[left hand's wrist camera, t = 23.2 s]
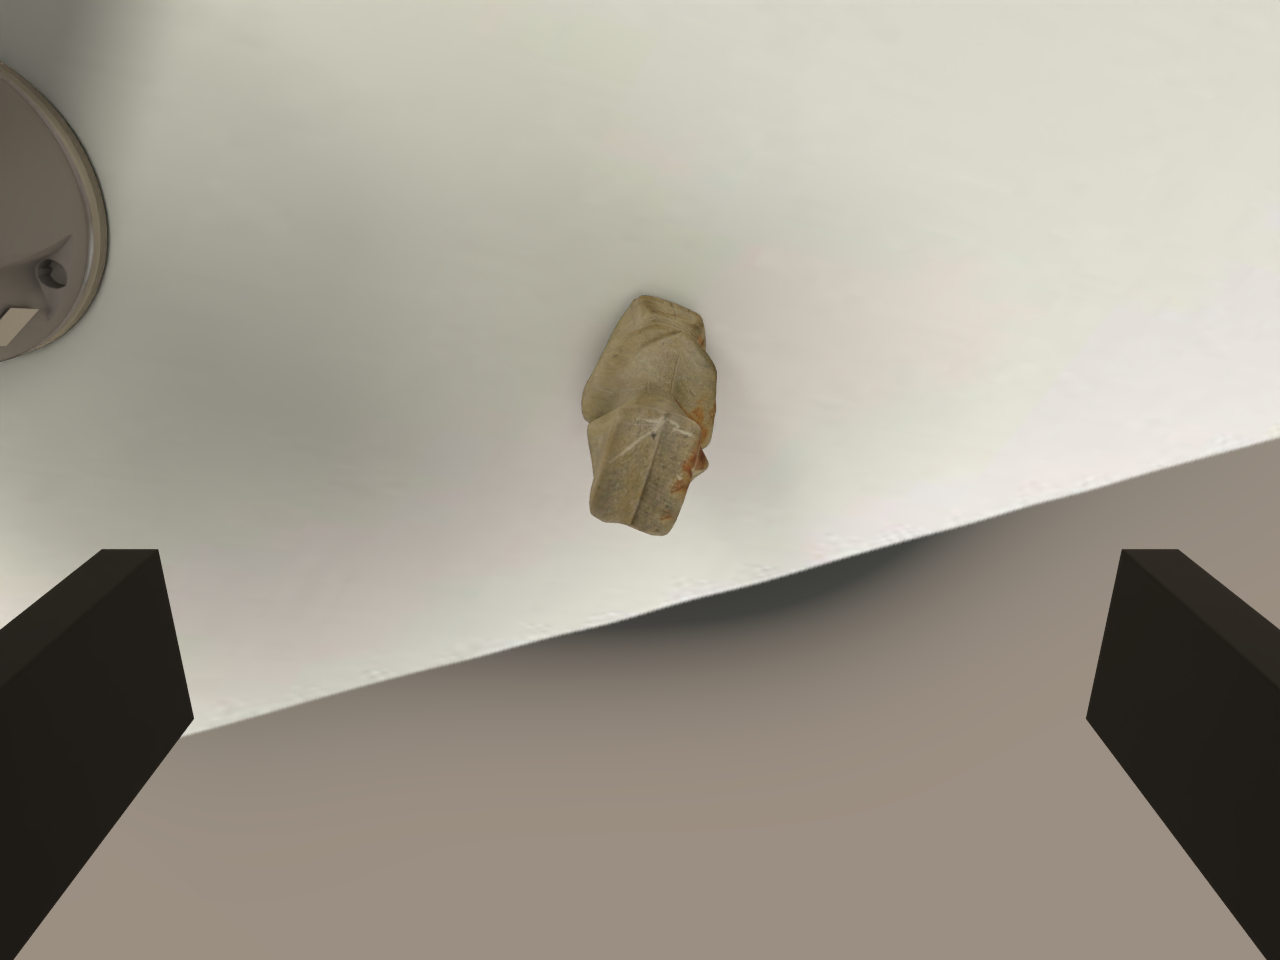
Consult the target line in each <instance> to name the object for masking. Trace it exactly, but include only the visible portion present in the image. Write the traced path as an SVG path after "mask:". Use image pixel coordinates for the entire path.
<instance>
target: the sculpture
mask: <svg viewBox="0 0 1280 960" xmlns="http://www.w3.org/2000/svg"><path fill="white" fill-rule="evenodd" d="M716 382H717V371H716V368H715V365H714V363H713V362H712V360H711V359H710V357H709V355H708V354H707V353H706V339H705V329H704V324H703V320H702V318H701V316H700V315H699V314H697V313H695V312H693V311H691V310H689V309H687V308H684V307H682V306H679V305H677V304H674V303H672V302H669V301H666V300H663V299H659V298H656V297H652V296H645V295H644V296H641V297H639V298H638V299H635V300H634V301H633V302H632V303H631V305H630V307H629V309H628V310H627V311H626V312H625V314H624V315H623V316H622V318H621V319H620V321H619V322H618V324H617V326H616V328H615V329H614V331H613V333H612V335H611V337H610V339H609V341H608V344H607V346H606V348H605V350H604V352H603V353H602V355H601V357H600V359H599V361H598V363H597V365H596V367H595V369H594V371H593V373H592V375H591V376H590V378H589V379H588V381H587V383H586V385H585V387H584V391H583V395H582V414H583V417H584V419H585V420H586V421H587V422H589V423H590V424H589V425H588V429H587V436H588V443H589V448H590V454H591V460H592V467H593V475H594V480H593V483H592V487H591V492H590V501H589V504H590V512H591V514H592V515H593V516H594V517H596V518H598V519H599V520H601V521H603V522H608V523H621V524H625V525H628V526H630V527H632V528H635V529H637V530H639V531H642V532H645V533H647V534H650V535H656V536H663V535H666V534H668V533H669V532H670V530H671V529H672V527H673V525H674V523H675V522H676V520H677V517H678V515H679V512H680V509H681V507H682V504H683V502H684V499H685V496H686V493H687V489H688V486H689V484H690V482H691V481H692V480H693V479H694V478H695V477H696V476H698V475H700V474H701V473H703V472H704V471H705V470H706V469H707V468H708V460H707V458H706V456H705V454H704V452H703V450H702V449H704V448H705V447H707V446H708V444H709V443H710V441H711V437H712V431H713V424H714V417H715V413H716Z"/></svg>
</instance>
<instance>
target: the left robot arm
mask: <svg viewBox="0 0 1280 960" xmlns="http://www.w3.org/2000/svg"><path fill="white" fill-rule="evenodd" d="M106 251H107V225H106V215H105V210H104V204H103V199H102V196H101V192H100V189H99V185H98V182H97V180H96V177H95V174H94V171H93V169H92V167H91V164H90V162H89V160H88V158H87V156H86V154H85V152H84V150H83V148H82V147H81V145H80V143H79V141H78V140H77V138H76V136H75V135H74V133H73V132H72V130H71V129H70V127H69V126H68V125H67V123H66V122H65V120H64V119H63V118H62V117H61V115H60V114H59V113H58V112H57V110H56V109H55V108H54V107H53V106H52V105H51V104H50V103H49V101H48V100H47V99H46V98H45V97H44V96H43V95H42V94H41V93H40V92H39V91H38V90H37V89H35V88H34V87H33V86H32V85H31V84H30V83H29V82H28V81H27V80H25V79H24V78H23V77H21V76H20V75H19V74H17V73H16V72H15V71H14V70H12V69H11V68H9V67H8V66H6V65H5V64H3V63H2V62H0V362H1V361H5V360H8V359H12V358H15V357H17V356H20V355H23V354H25V353H28V352H31V351H33V350H36V349H38V348H41V347H43V346H45V345H47V344H49V343H50V342H52V341H54V340H56V339H57V338H59V337H60V336H61V335H63V334H64V333H65V332H67V331H68V330H69V329H70V328H71V327H72V326H73V325H74V324H75V323H76V322H77V321H78V320H79V319H80V317H81V316H82V315H83V314H84V313H85V311H86V309H87V308H88V306H89V305H90V303H91V302H92V300H93V298H94V296H95V293H96V291H97V289H98V286H99V284H100V281H101V278H102V274H103V270H104V266H105V260H106ZM193 719H194V716H193V711H192V707H191V702H190V697H189V693H188V688H187V683H186V678H185V674H184V669H183V664H182V660H181V655H180V650H179V645H178V641H177V636H176V631H175V627H174V622H173V617H172V612H171V608H170V603H169V598H168V594H167V589H166V584H165V579H164V575H163V570H162V565H161V561H160V556H159V551H158V549H102V550H100V551H99V552H98V553H97V554H95V555H94V556H93V557H92V558H90V559H89V560H88V561H86V562H85V563H84V564H83V565H81V566H80V567H79V568H78V569H76V570H75V571H74V572H73V573H71V574H70V575H69V576H68V577H66V578H65V579H64V580H62V581H61V582H60V583H59V584H57V585H56V586H55V587H54V588H52V589H51V590H50V591H49V592H47V593H46V594H45V595H44V596H42V597H41V598H40V599H38V600H37V601H36V602H35V603H33V604H32V605H31V606H30V607H28V608H27V609H26V610H25V611H23V612H22V613H21V614H19V615H18V616H17V617H16V618H14V619H13V620H12V621H11V622H9V623H8V624H7V625H6V626H4V627H3V628H2V629H1V630H0V960H14V958H15V957H16V956H17V954H18V953H19V952H20V950H21V949H22V947H23V946H24V945H25V944H26V942H27V941H28V940H29V938H30V937H31V936H32V934H33V933H34V932H35V930H36V929H37V928H38V926H39V925H40V924H41V922H42V921H43V920H44V918H45V917H46V916H47V914H48V913H49V911H50V910H51V909H52V908H53V906H54V905H55V903H56V902H57V901H58V900H59V898H60V897H61V895H62V894H63V893H64V892H65V890H66V889H67V888H68V886H69V885H70V884H71V882H72V881H73V880H74V878H75V877H76V875H77V874H78V873H79V871H80V870H81V869H82V868H83V866H84V865H85V864H86V862H87V861H88V859H89V858H90V857H91V856H92V854H93V853H94V851H95V850H96V849H97V848H98V846H99V845H100V843H101V842H102V841H103V840H104V838H105V837H106V836H107V834H108V833H109V832H110V830H111V829H112V828H113V826H114V825H115V823H116V822H117V821H118V819H119V818H120V817H121V815H122V814H123V813H124V811H125V810H126V809H127V807H128V806H129V805H130V803H131V802H132V801H133V799H134V798H135V797H136V795H137V794H138V793H139V791H140V790H141V789H142V787H143V786H144V785H145V783H146V782H147V781H148V779H149V778H150V777H151V775H152V774H153V773H154V771H155V770H156V769H157V767H158V766H159V765H160V763H161V762H162V761H163V759H164V758H165V757H166V755H167V754H168V753H169V751H170V750H171V749H172V747H173V746H174V745H175V743H176V742H177V741H178V739H179V738H180V737H181V735H182V734H183V733H184V731H185V730H186V729H187V727H188V726H189V725H190V723H191V722H192V721H193ZM1086 719H1087V721H1088V722H1089V723H1090V725H1091V726H1092V727H1093V729H1094V730H1095V731H1096V733H1097V734H1098V735H1099V737H1100V738H1101V739H1102V741H1103V742H1104V743H1105V745H1106V746H1107V747H1108V749H1109V750H1110V751H1111V753H1112V754H1113V755H1114V757H1115V758H1116V759H1117V761H1118V762H1119V763H1120V765H1121V766H1122V767H1123V769H1124V770H1125V771H1126V773H1127V774H1128V775H1129V777H1130V778H1131V779H1132V781H1133V782H1134V783H1135V785H1136V786H1137V787H1138V789H1139V790H1140V791H1141V793H1142V794H1143V795H1144V797H1145V798H1146V799H1147V801H1148V802H1149V803H1150V805H1151V806H1152V807H1153V809H1154V810H1155V811H1156V813H1157V814H1158V815H1159V817H1160V818H1161V819H1162V821H1163V822H1164V823H1165V825H1166V826H1167V827H1168V829H1169V830H1170V832H1171V833H1172V834H1173V836H1174V837H1175V838H1176V839H1177V841H1178V842H1179V843H1180V845H1181V846H1182V848H1183V849H1184V850H1185V851H1186V853H1187V854H1188V855H1189V857H1190V858H1191V860H1192V861H1193V862H1194V864H1195V865H1196V866H1197V867H1198V869H1199V870H1200V872H1201V873H1202V874H1203V876H1204V877H1205V878H1206V880H1207V881H1208V882H1209V884H1210V885H1211V886H1212V888H1213V889H1214V890H1215V892H1216V893H1217V894H1218V896H1219V897H1220V898H1221V900H1222V901H1223V902H1224V904H1225V905H1226V906H1227V908H1228V909H1229V910H1230V912H1231V913H1232V914H1233V916H1234V917H1235V918H1236V920H1237V921H1238V922H1239V923H1240V925H1241V926H1242V928H1243V929H1244V930H1245V932H1246V933H1247V934H1248V936H1249V937H1250V938H1251V940H1252V941H1253V942H1254V944H1255V945H1256V946H1257V948H1258V949H1259V950H1260V952H1261V953H1262V954H1263V955H1264V957H1265V958H1266V959H1267V960H1280V630H1279V629H1278V628H1277V627H1276V626H1274V625H1273V624H1272V623H1271V622H1269V621H1268V620H1267V619H1266V618H1264V617H1263V616H1262V615H1261V614H1259V613H1258V612H1257V611H1255V610H1254V609H1253V608H1252V607H1250V606H1249V605H1248V604H1247V603H1245V602H1244V601H1243V600H1242V599H1240V598H1239V597H1238V596H1236V595H1235V594H1234V593H1233V592H1231V591H1230V590H1229V589H1228V588H1226V587H1225V586H1224V585H1222V584H1221V583H1220V582H1219V581H1218V580H1216V579H1215V578H1214V577H1212V576H1211V575H1210V574H1209V573H1207V572H1206V571H1205V570H1204V569H1202V568H1201V567H1200V566H1199V565H1197V564H1196V563H1195V562H1194V561H1192V560H1191V559H1190V558H1188V557H1187V556H1186V555H1185V554H1183V553H1182V552H1181V551H1180V550H1178V549H1122V551H1121V556H1120V561H1119V565H1118V570H1117V575H1116V579H1115V584H1114V589H1113V594H1112V598H1111V603H1110V608H1109V613H1108V617H1107V622H1106V627H1105V631H1104V636H1103V641H1102V646H1101V650H1100V655H1099V660H1098V664H1097V669H1096V674H1095V678H1094V683H1093V688H1092V693H1091V697H1090V702H1089V707H1088V711H1087V716H1086Z"/></svg>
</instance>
